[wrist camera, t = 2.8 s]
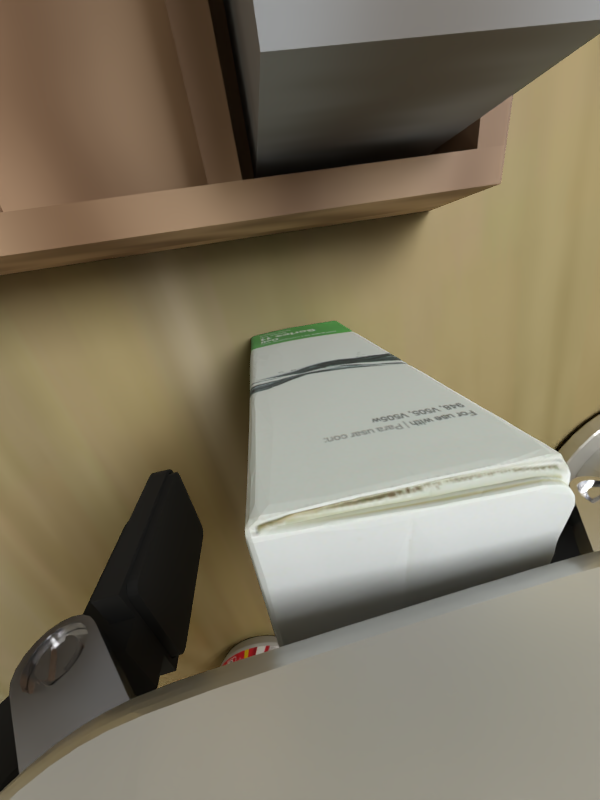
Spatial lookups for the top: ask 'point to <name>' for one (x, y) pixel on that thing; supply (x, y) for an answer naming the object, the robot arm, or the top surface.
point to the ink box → (382, 484)
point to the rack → (253, 114)
